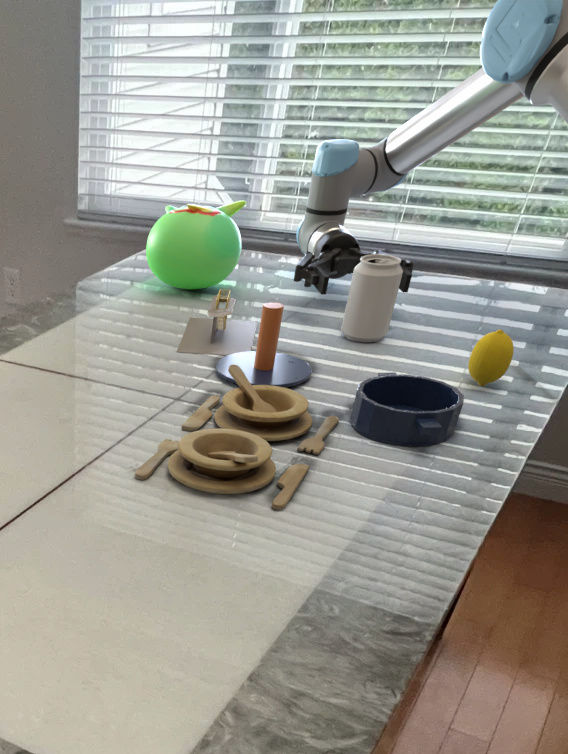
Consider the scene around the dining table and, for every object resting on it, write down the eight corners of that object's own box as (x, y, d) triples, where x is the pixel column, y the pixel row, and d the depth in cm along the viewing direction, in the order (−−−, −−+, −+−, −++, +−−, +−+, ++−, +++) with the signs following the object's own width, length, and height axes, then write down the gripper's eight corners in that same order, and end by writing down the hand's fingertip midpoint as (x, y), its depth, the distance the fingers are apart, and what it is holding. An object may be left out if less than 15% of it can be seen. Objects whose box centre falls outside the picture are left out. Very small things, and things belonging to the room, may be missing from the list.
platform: (257, 321, 149) (263, 281, 145) (250, 356, 136) (256, 313, 132) (190, 317, 152) (193, 277, 147) (176, 351, 139) (180, 309, 135)
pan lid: (298, 356, 136) (310, 289, 129) (320, 391, 125) (335, 319, 118) (209, 359, 136) (216, 291, 129) (223, 393, 126) (233, 322, 119)
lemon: (498, 395, 122) (519, 338, 117) (458, 389, 124) (476, 332, 119) (503, 382, 126) (523, 326, 120) (464, 376, 128) (482, 321, 122)
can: (358, 326, 146) (376, 249, 138) (395, 337, 141) (415, 258, 133) (330, 335, 143) (346, 257, 135) (367, 347, 138) (386, 267, 130)
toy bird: (133, 294, 163) (138, 207, 153) (158, 271, 174) (164, 188, 164) (225, 303, 157) (236, 213, 147) (244, 278, 168) (256, 193, 158)
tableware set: (281, 513, 99) (291, 465, 95) (128, 479, 106) (130, 434, 102) (342, 419, 118) (352, 376, 114) (208, 396, 125) (213, 355, 121)
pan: (426, 397, 122) (436, 366, 119) (476, 454, 108) (488, 420, 105) (334, 399, 123) (341, 368, 120) (371, 456, 109) (380, 422, 106)
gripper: (396, 271, 158) (435, 306, 142) (262, 275, 159) (287, 310, 143) (407, 226, 153) (448, 257, 137) (269, 230, 154) (295, 261, 138)
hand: (366, 284), depth 140 cm, fingers open, 13 cm apart
